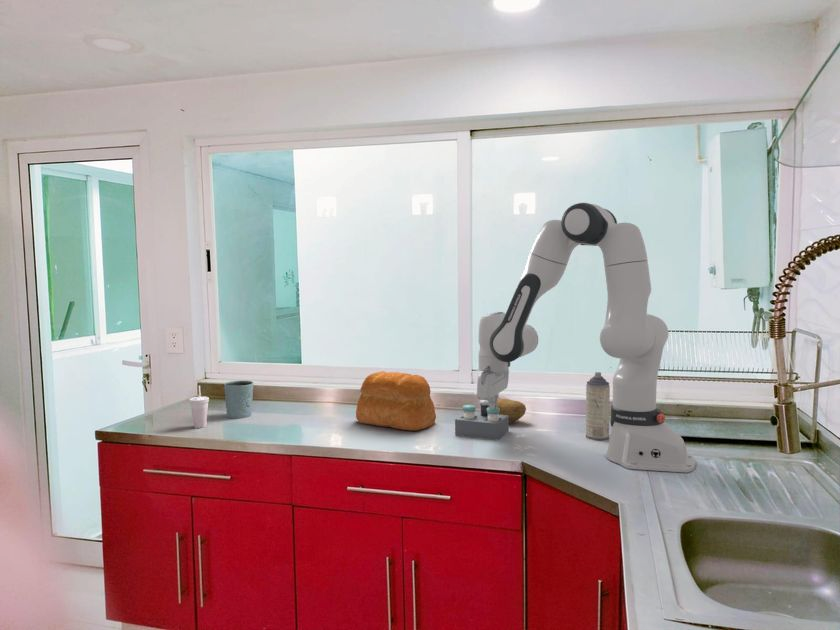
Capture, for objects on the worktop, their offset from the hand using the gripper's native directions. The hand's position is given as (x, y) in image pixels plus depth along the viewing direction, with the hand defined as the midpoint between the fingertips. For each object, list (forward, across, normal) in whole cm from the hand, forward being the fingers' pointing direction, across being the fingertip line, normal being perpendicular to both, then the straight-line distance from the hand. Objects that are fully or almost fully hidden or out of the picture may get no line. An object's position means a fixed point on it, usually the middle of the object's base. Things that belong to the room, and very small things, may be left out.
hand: (492, 408), depth 185 cm
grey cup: (+9, -11, +92) cm, 93 cm away
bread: (+9, +2, +35) cm, 36 cm away
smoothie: (+9, -28, +94) cm, 98 cm away
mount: (+8, +1, +4) cm, 9 cm away
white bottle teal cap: (+7, 0, 0) cm, 7 cm away
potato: (+9, +16, +1) cm, 19 cm away
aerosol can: (+9, +10, -30) cm, 33 cm away
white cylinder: (+7, 0, +8) cm, 11 cm away
